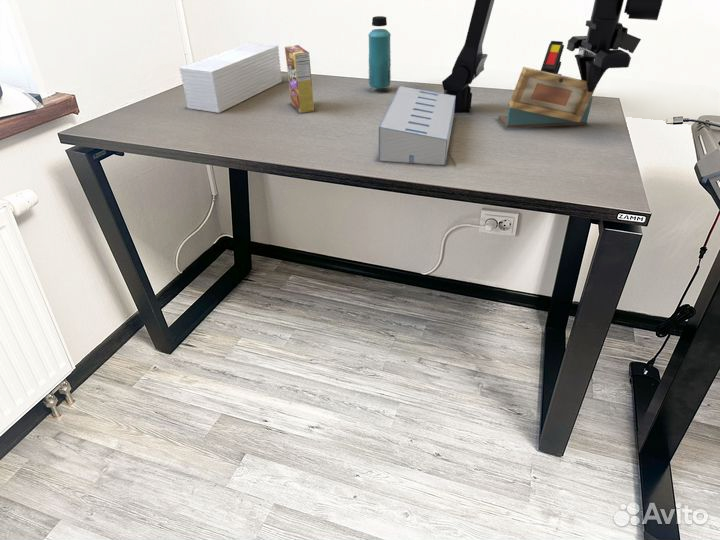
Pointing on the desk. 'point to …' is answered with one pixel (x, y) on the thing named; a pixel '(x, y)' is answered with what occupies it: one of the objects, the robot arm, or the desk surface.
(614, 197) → the desk surface
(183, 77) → the stack of papers
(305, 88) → the candy box
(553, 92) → the picture frame
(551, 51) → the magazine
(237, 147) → the desk surface
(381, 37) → the beverage bottle
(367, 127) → the desk surface
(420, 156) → the warehouse
